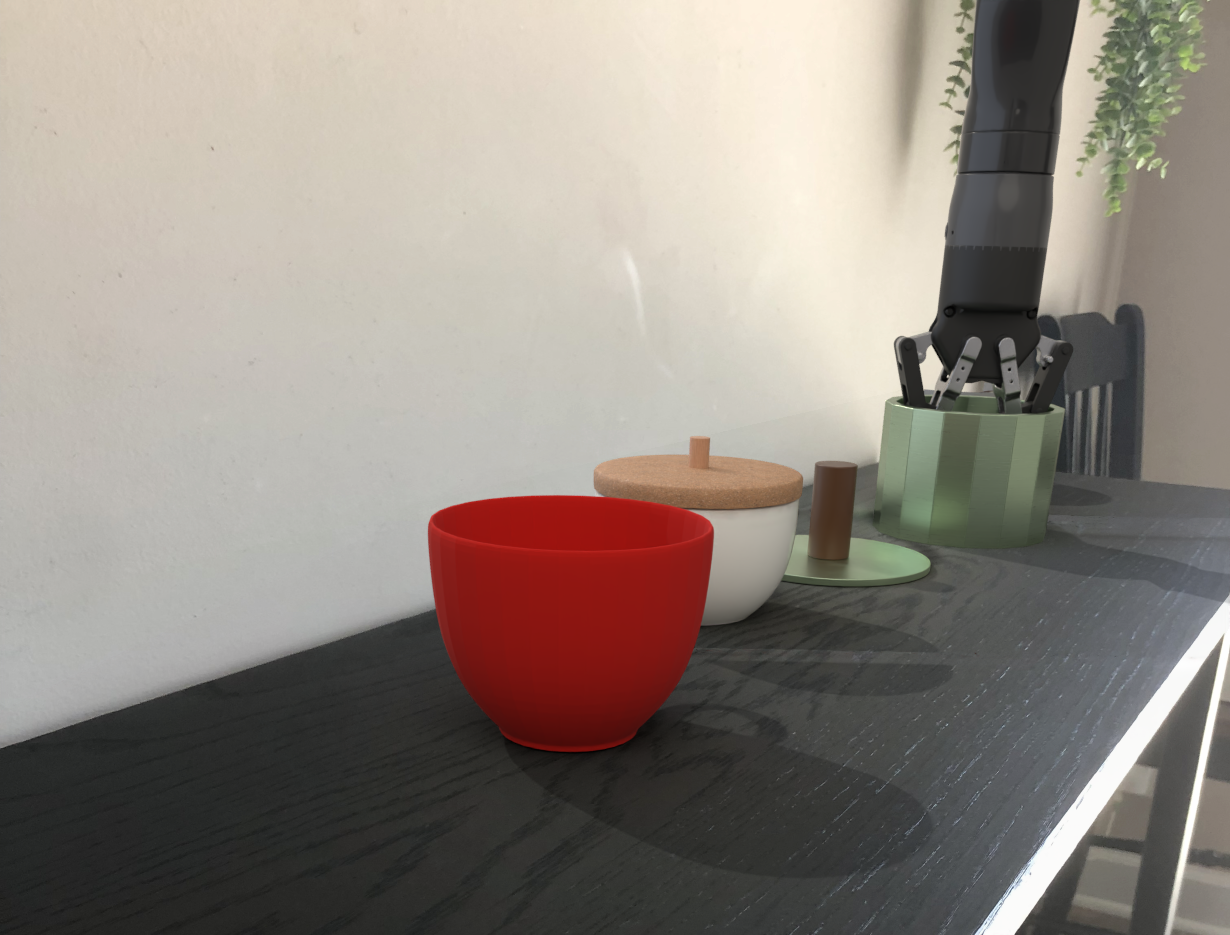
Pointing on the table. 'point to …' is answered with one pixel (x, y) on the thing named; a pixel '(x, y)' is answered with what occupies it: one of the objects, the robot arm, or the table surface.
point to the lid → (846, 540)
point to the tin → (966, 474)
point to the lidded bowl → (721, 516)
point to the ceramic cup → (569, 611)
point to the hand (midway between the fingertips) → (966, 472)
